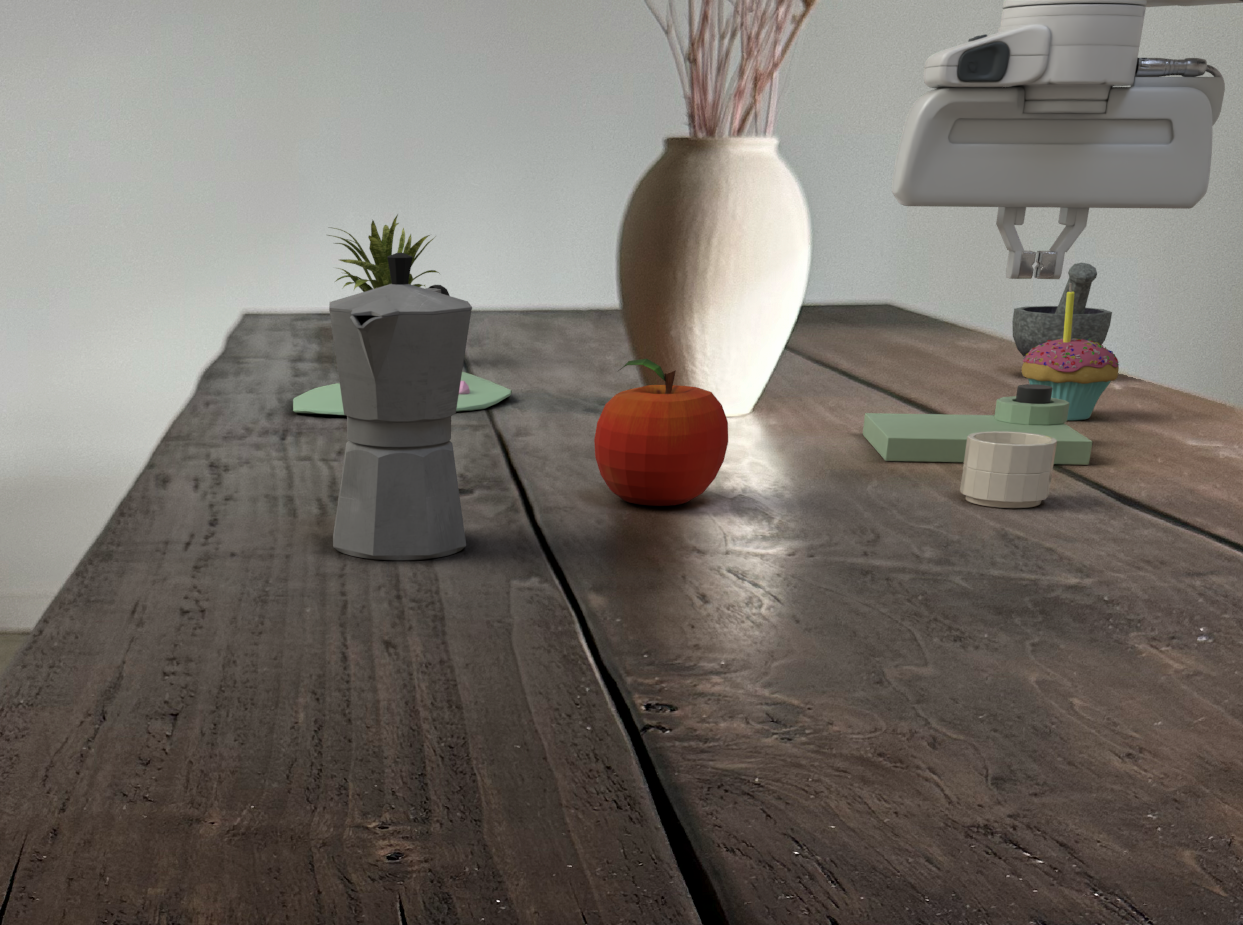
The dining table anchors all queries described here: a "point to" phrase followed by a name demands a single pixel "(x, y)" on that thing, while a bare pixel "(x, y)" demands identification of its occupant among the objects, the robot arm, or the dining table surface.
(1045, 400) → the button
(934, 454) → the scale
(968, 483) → the bowl
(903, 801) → the dining table surface
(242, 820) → the dining table surface
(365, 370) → the coffeepot
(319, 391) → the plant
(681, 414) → the fruit
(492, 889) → the dining table surface
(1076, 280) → the mortar and pestle
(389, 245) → the house plant
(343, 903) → the dining table surface
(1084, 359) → the cupcake
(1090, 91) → the robot arm
